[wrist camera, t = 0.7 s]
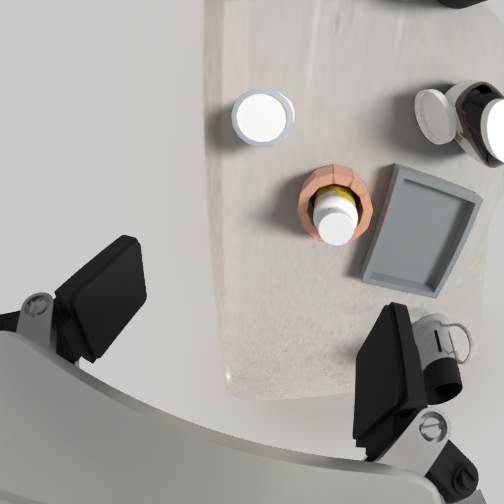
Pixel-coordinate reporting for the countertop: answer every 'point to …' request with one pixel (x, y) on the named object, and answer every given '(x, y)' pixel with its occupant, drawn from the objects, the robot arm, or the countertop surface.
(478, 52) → the countertop surface
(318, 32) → the countertop surface
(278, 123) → the white tapered cup
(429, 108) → the spread jar
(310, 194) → the terracotta faceted ring
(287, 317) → the countertop surface
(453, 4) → the pen holder
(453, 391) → the glass holder
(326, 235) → the supplement bottle
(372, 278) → the tray
